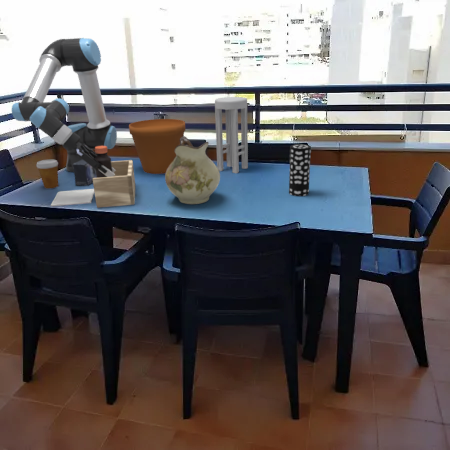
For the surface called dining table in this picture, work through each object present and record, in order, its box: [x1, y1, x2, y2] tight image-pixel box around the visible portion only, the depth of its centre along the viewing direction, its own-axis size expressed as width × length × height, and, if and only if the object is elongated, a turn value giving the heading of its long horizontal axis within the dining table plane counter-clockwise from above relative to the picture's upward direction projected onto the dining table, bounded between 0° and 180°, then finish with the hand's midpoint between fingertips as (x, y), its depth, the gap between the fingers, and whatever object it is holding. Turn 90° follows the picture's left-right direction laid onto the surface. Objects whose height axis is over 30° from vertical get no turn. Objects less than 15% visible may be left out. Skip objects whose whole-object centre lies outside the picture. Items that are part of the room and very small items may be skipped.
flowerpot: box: [128, 118, 186, 175], centre depth 224 cm, size 28×28×24 cm
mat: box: [50, 188, 95, 207], centre depth 189 cm, size 18×16×1 cm
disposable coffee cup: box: [36, 159, 60, 189], centre depth 203 cm, size 10×10×12 cm
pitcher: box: [164, 136, 221, 205], centre depth 178 cm, size 22×24×25 cm
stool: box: [214, 96, 249, 174], centre depth 218 cm, size 16×16×35 cm
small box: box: [73, 159, 97, 187], centre depth 208 cm, size 11×6×10 cm, turn 168°
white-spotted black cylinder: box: [288, 143, 312, 197], centre depth 182 cm, size 8×8×20 cm
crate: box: [92, 159, 136, 208], centre depth 188 cm, size 27×15×12 cm, turn 10°
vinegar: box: [94, 146, 112, 178], centre depth 185 cm, size 7×7×20 cm
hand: (113, 174), depth 186 cm, fingers closed on vinegar, 6 cm apart
